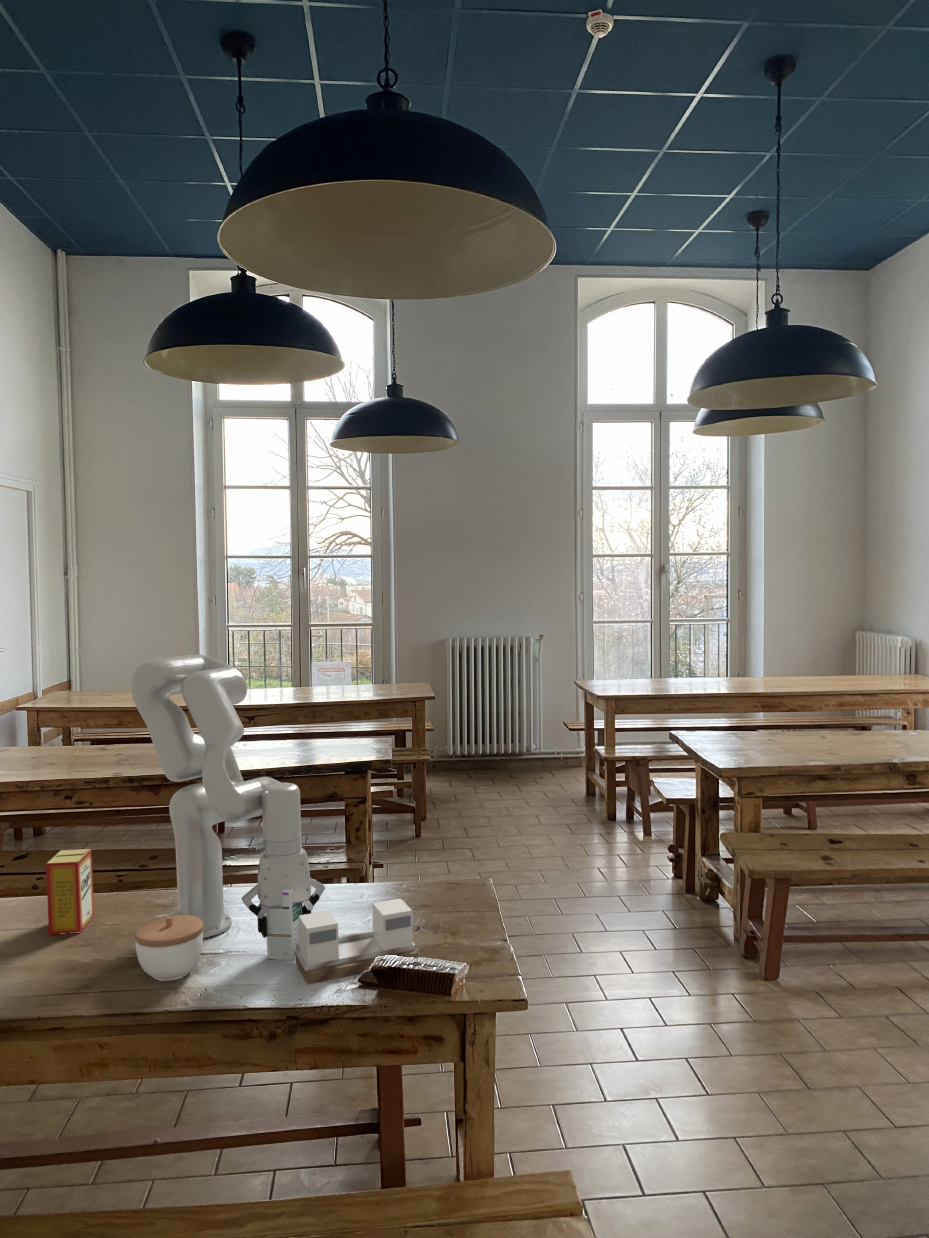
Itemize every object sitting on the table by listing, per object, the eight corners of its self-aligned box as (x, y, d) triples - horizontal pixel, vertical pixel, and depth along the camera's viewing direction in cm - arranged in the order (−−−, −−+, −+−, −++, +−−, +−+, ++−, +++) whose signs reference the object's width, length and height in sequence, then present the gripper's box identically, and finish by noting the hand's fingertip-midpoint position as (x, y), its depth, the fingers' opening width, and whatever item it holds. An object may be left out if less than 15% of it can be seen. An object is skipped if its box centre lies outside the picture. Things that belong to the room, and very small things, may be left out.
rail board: (307, 984, 165) (306, 963, 165) (295, 962, 174) (295, 943, 174) (418, 962, 174) (417, 942, 173) (401, 942, 183) (401, 924, 183)
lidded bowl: (135, 965, 174) (133, 910, 174) (202, 954, 179) (200, 901, 178) (136, 993, 163) (134, 934, 162) (207, 980, 167) (205, 923, 167)
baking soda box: (80, 933, 191) (77, 860, 190) (49, 935, 190) (45, 861, 189) (94, 916, 200) (91, 846, 199) (64, 918, 199) (61, 848, 199)
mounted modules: (308, 965, 166) (307, 929, 166) (299, 950, 173) (298, 915, 173) (413, 945, 174) (412, 910, 174) (401, 931, 181) (400, 898, 181)
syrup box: (293, 961, 175) (292, 889, 174) (266, 959, 176) (264, 887, 175) (304, 949, 181) (302, 879, 180) (277, 947, 182) (275, 877, 181)
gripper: (241, 857, 170) (244, 946, 171) (329, 844, 177) (332, 930, 178) (235, 846, 177) (238, 932, 178) (320, 835, 184) (322, 917, 185)
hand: (285, 930), depth 178 cm, fingers closed on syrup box, 7 cm apart
